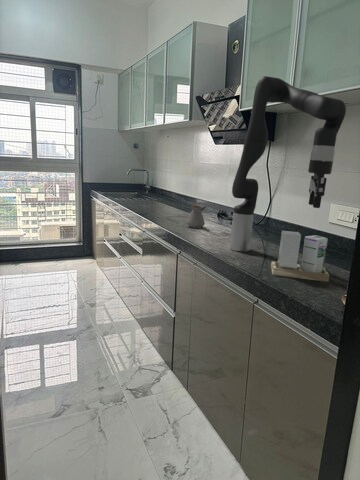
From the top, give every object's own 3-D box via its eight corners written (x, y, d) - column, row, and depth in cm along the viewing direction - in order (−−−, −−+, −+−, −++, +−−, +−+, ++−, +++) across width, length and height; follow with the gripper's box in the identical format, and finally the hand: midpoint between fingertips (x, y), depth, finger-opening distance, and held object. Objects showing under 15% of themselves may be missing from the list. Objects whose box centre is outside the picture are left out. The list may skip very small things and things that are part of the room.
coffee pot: (183, 225, 222) (185, 201, 219) (200, 225, 225) (202, 202, 222) (194, 232, 202) (196, 206, 199) (212, 232, 205) (215, 206, 202)
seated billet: (276, 269, 134) (281, 230, 131) (293, 271, 133) (298, 232, 130) (278, 273, 128) (283, 233, 125) (295, 275, 127) (301, 235, 124)
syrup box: (313, 278, 125) (319, 238, 122) (299, 274, 130) (304, 235, 127) (322, 276, 128) (328, 237, 125) (308, 272, 133) (314, 234, 130)
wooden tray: (270, 270, 136) (271, 261, 135) (322, 276, 133) (323, 267, 132) (272, 278, 127) (273, 268, 126) (327, 284, 123) (329, 274, 123)
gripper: (306, 159, 129) (299, 203, 133) (314, 158, 116) (306, 207, 119) (328, 160, 128) (320, 205, 132) (338, 160, 114) (329, 210, 118)
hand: (313, 206), depth 126 cm, fingers open, 8 cm apart
